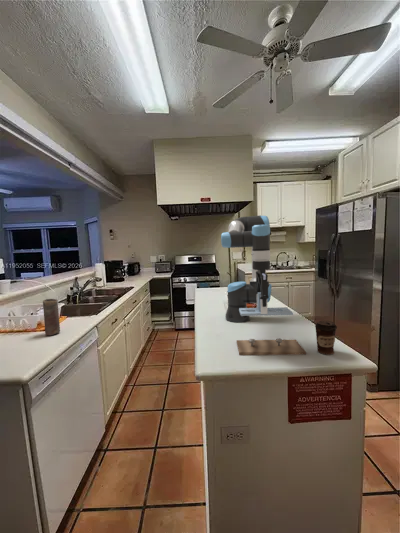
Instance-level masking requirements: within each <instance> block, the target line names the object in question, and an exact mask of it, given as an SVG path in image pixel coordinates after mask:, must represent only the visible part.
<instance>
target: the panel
mask: <svg viewBox="0 0 400 533" xmlns="http://www.w3.org/2000/svg"><path fill="white" fill-rule="evenodd" d="M264 296H266V295H264ZM260 297H261V292H258V308H257V307H249V308H248V307H247V308H239V312H240V314H241V316H250V317H253V316H254V317H255V316H256V317H257V316H259V317H261V316H265V317H266V316H294V312H293V311H292V310H291V309H289V308H288V307H286V306H285V307H282V306H281V307H280V306H279V307H267V311H268V314H261V299H260Z"/></svg>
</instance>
